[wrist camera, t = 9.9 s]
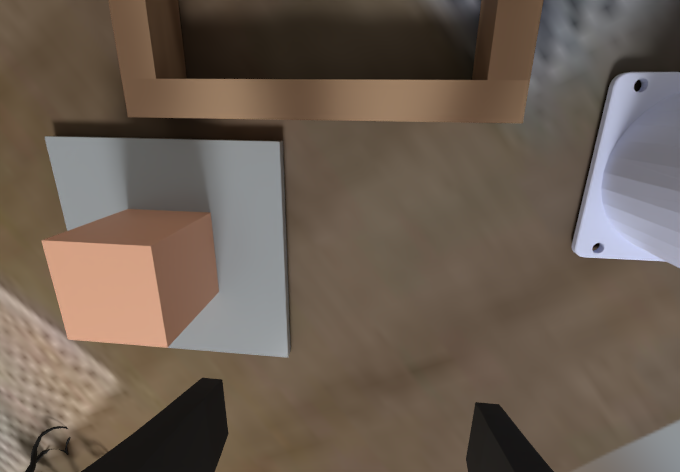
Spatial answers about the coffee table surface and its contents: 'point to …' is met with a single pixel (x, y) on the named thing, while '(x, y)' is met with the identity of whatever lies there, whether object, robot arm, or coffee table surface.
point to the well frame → (325, 94)
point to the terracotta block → (134, 275)
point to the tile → (197, 196)
